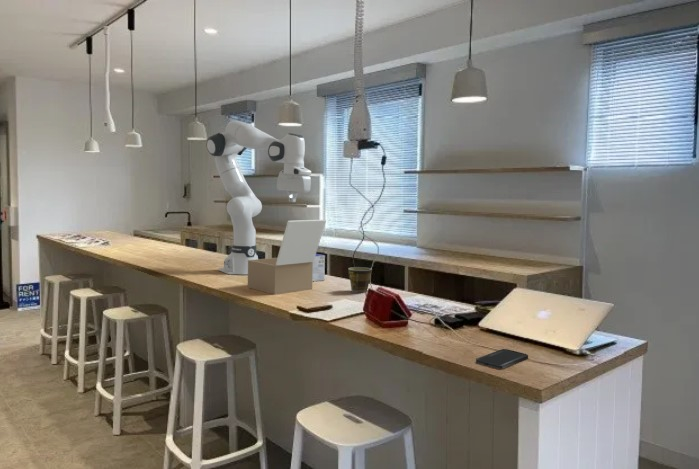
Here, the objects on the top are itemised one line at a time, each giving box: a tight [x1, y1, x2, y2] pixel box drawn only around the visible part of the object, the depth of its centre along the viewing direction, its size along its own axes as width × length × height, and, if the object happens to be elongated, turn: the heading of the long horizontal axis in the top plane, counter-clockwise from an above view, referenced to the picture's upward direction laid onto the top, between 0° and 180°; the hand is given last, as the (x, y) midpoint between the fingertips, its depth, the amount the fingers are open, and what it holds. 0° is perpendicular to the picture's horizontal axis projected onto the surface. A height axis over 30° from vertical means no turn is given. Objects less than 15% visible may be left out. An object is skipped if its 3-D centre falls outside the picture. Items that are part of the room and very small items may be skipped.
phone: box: [475, 348, 529, 370], centre depth 144 cm, size 8×1×15 cm
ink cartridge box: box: [312, 253, 326, 282], centre depth 259 cm, size 10×6×14 cm, turn 126°
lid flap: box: [276, 219, 327, 265], centre depth 225 cm, size 20×20×1 cm
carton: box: [247, 257, 313, 295], centre depth 237 cm, size 20×20×12 cm
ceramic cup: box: [347, 266, 372, 294], centre depth 232 cm, size 13×10×10 cm
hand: (292, 201), depth 241 cm, fingers closed
